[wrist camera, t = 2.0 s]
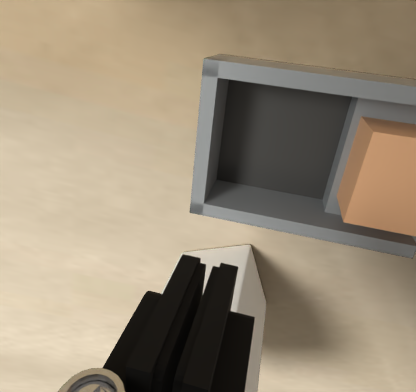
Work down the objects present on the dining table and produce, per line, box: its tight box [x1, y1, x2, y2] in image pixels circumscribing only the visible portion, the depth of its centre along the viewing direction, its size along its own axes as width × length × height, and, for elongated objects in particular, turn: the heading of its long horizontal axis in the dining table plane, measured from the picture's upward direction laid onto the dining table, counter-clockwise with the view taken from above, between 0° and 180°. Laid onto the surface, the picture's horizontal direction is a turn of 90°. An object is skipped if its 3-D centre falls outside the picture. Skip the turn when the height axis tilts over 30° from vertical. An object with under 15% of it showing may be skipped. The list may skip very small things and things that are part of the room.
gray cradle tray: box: [190, 54, 416, 259], centre depth 24 cm, size 11×27×5 cm, turn 84°
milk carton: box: [161, 245, 266, 392], centre depth 26 cm, size 7×7×19 cm
